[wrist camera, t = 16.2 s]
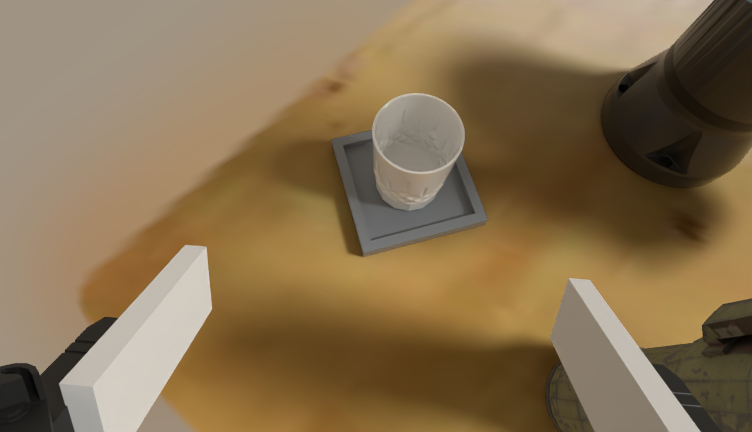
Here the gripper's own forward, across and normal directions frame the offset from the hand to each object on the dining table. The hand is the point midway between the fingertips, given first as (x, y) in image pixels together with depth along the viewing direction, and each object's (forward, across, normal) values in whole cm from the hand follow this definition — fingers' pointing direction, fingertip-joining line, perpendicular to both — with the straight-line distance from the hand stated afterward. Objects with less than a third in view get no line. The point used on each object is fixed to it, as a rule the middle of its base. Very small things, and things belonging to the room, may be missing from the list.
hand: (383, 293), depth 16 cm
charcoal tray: (+31, +2, -7) cm, 32 cm away
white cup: (+31, +2, -7) cm, 32 cm away
